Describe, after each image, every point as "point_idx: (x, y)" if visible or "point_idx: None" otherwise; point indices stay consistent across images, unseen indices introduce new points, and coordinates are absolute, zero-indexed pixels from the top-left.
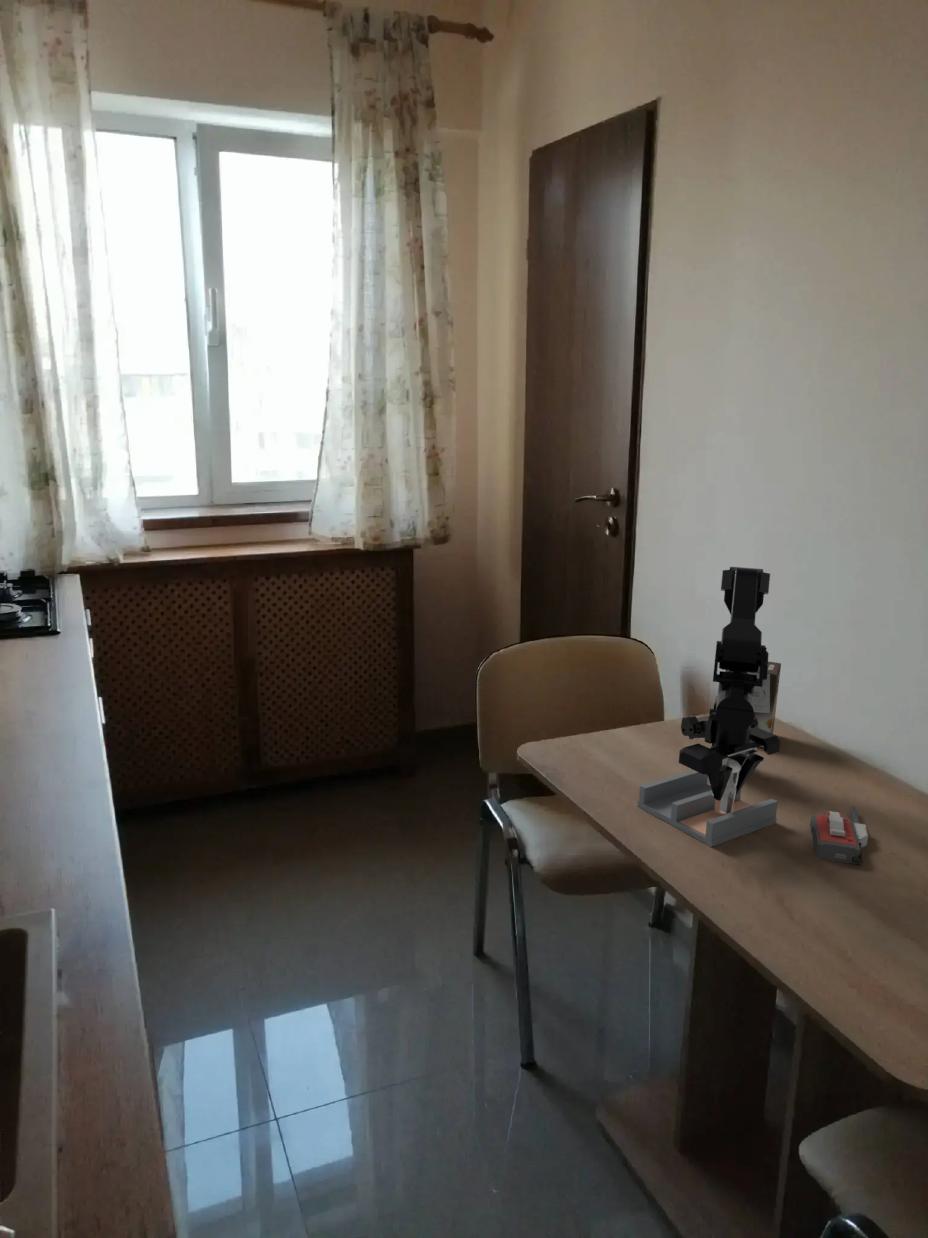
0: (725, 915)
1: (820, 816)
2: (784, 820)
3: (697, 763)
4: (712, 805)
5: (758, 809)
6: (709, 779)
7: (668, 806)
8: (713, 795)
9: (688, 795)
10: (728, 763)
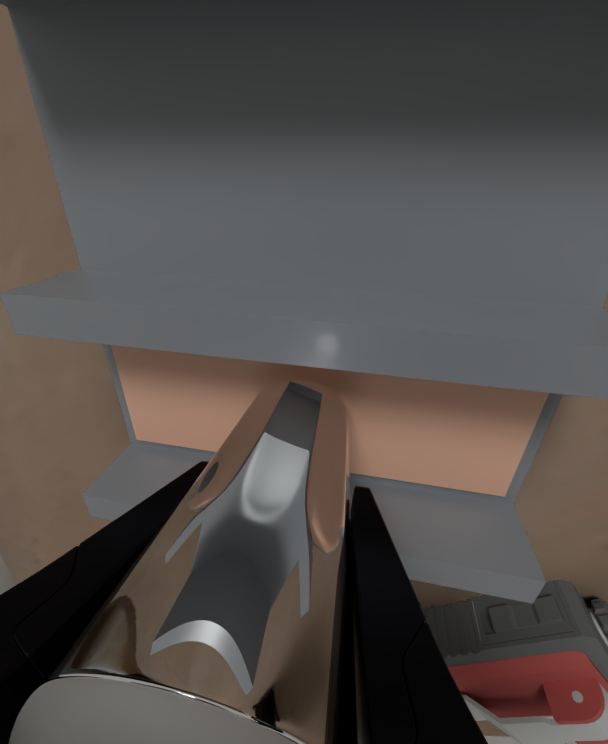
0: (28, 573)
1: (572, 668)
2: (551, 515)
3: None
4: (257, 395)
5: None
6: (61, 564)
7: (143, 144)
8: (187, 472)
9: (379, 79)
10: None
